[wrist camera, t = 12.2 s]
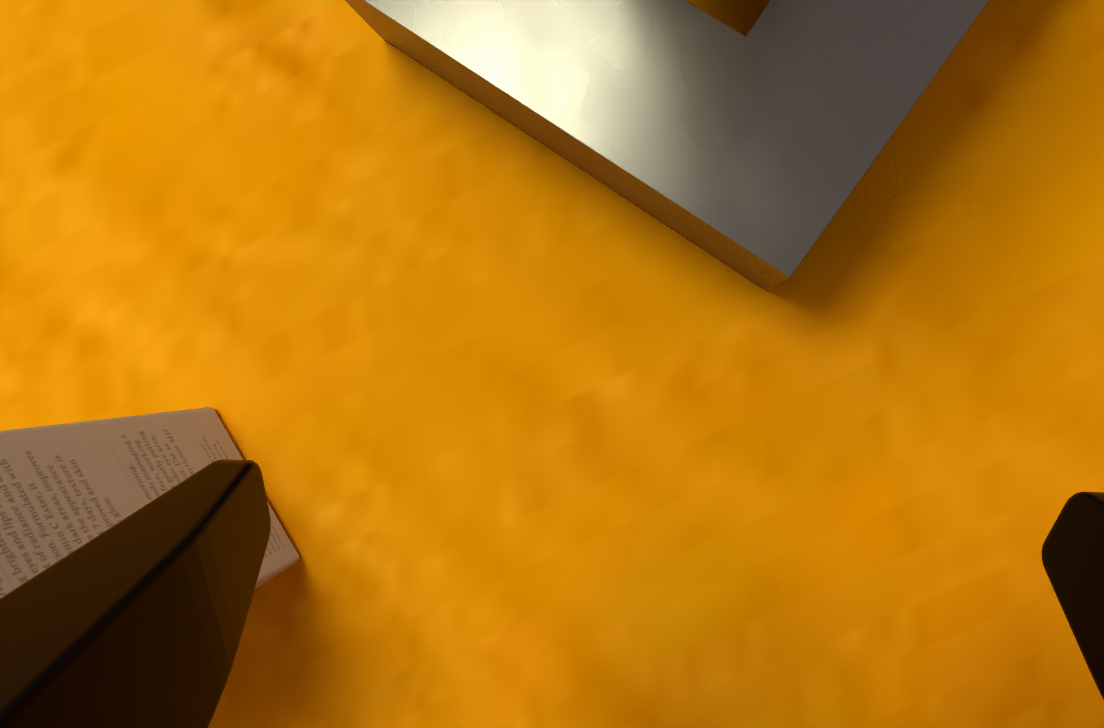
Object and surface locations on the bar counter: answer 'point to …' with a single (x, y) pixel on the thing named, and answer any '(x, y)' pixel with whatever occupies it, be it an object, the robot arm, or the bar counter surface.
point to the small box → (103, 484)
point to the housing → (696, 100)
